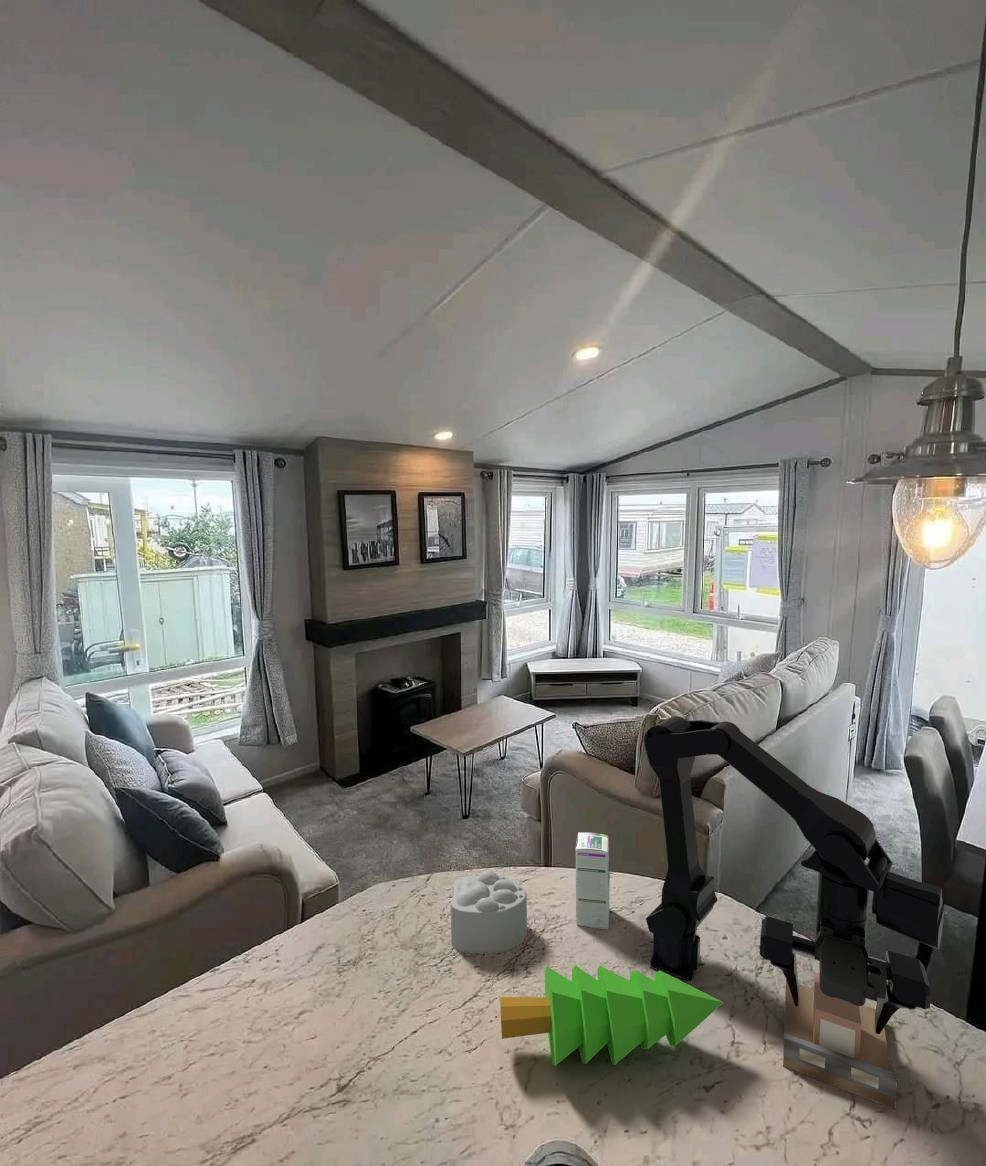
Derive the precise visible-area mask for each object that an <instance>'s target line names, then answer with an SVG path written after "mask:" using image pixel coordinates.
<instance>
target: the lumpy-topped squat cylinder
mask: <svg viewBox="0 0 986 1166" xmlns="http://www.w3.org/2000/svg"><path fill="white" fill-rule="evenodd" d="M527 896H528V894H527V891H526V889H525V888H524V887H523V886H522V885H521V884H520V883H518V882H517V881H514V880H513V879H510V878H508V877H505V876H501V875H498V874H497V873H495V872H494V871H493V870H485V871H483V872H481V873H480V874H478V875H466V876H462V877H460V878H458V879H457V880H455V881H454V883H453V885H452V898H451V899H450V902H449V903H450V944H451V945H452V948H453V949H455V950H457V951H459V952H463V953H467V954H481V955H482V954H500V953H504V952H507V951H509V950H511V949H514V948H516V947H517V946H519V945H520V944H521V943H523V941H524V940H525V938H527V935H528V904H527V901H528V899H527Z"/></svg>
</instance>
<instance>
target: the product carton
mask: <svg viewBox="0 0 986 1166" xmlns="http://www.w3.org/2000/svg"><path fill="white" fill-rule="evenodd" d="M813 989H814V990H813V1010H812V1013H813V1044H816V1045H819V1046H821V1047H824V1048H827V1049H830V1050H832V1051H835V1052H838V1053H841V1054H843V1055H846V1056H849V1057H852V1058H854V1059H857V1060H859V1056H860V1038H861V1018H860V1010H859V1006H856V1005H853V1004H852V1003H850V1002H847V1001H844V1000H841V999H838V998H832V997H829V996H827V995H825V994H824V993H823V992H822V991H821V989H820V974H819V972H815V971H814V973H813Z"/></svg>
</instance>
